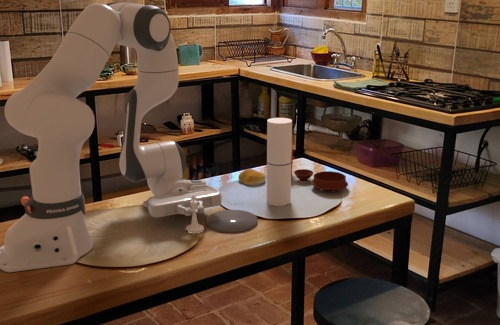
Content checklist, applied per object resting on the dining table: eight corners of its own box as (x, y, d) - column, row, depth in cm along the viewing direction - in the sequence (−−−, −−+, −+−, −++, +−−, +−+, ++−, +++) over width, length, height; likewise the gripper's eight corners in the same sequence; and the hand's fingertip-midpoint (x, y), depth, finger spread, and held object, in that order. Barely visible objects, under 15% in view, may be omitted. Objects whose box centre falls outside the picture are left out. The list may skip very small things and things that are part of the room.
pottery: (331, 198, 173) (332, 185, 171) (284, 182, 187) (284, 170, 185) (355, 189, 180) (356, 176, 179) (307, 174, 194) (308, 162, 193)
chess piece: (190, 225, 154) (189, 190, 151) (207, 227, 152) (206, 192, 149) (182, 232, 149) (180, 197, 146) (199, 234, 148) (198, 199, 145)
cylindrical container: (264, 204, 168) (264, 122, 160) (270, 196, 174) (270, 117, 166) (287, 207, 166) (289, 124, 158) (292, 198, 172) (294, 118, 165)
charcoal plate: (219, 236, 146) (219, 234, 146) (198, 217, 158) (198, 215, 158) (266, 226, 153) (266, 223, 152) (243, 208, 164) (243, 206, 164)
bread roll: (252, 188, 182) (252, 176, 181) (234, 181, 188) (234, 169, 187) (271, 182, 187) (271, 170, 186) (253, 175, 193) (253, 164, 192)
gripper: (140, 190, 154) (156, 207, 143) (208, 179, 163) (229, 194, 152) (141, 212, 156) (158, 230, 145) (209, 199, 165) (230, 215, 154)
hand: (195, 211), depth 148 cm, fingers closed on chess piece, 2 cm apart
